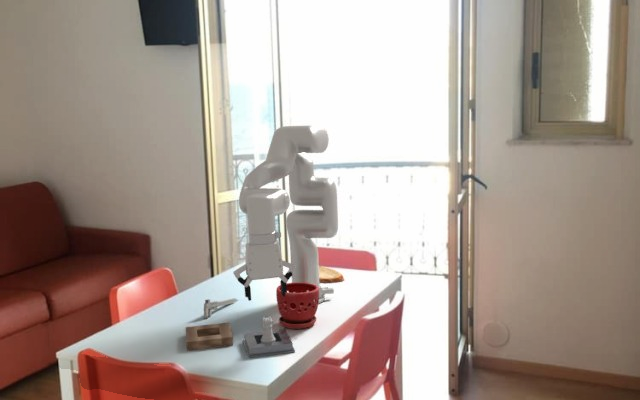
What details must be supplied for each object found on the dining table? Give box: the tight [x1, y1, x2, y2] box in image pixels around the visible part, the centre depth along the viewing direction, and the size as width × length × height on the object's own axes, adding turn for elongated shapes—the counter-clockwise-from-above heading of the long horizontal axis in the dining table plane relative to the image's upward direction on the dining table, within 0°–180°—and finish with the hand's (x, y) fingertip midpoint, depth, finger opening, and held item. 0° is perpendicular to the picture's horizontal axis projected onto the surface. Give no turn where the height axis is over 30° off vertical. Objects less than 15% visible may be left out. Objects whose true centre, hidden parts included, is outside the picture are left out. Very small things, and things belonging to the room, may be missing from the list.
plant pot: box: [275, 282, 319, 330], centre depth 210 cm, size 13×13×12 cm
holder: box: [242, 328, 296, 359], centre depth 193 cm, size 13×13×2 cm
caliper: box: [203, 298, 239, 320], centre depth 228 cm, size 20×1×6 cm, turn 157°
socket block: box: [184, 322, 234, 351], centre depth 200 cm, size 13×13×2 cm
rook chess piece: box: [261, 316, 276, 344], centre depth 192 cm, size 4×4×8 cm
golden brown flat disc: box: [319, 265, 345, 284], centre depth 264 cm, size 18×18×4 cm
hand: (266, 297), depth 191 cm, fingers open, 9 cm apart
